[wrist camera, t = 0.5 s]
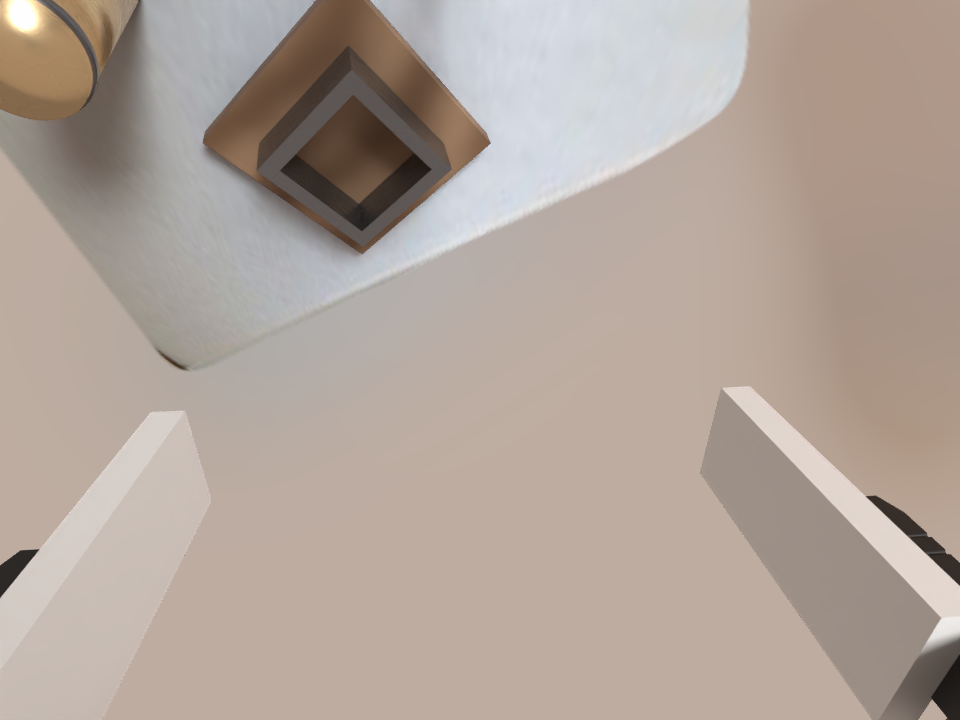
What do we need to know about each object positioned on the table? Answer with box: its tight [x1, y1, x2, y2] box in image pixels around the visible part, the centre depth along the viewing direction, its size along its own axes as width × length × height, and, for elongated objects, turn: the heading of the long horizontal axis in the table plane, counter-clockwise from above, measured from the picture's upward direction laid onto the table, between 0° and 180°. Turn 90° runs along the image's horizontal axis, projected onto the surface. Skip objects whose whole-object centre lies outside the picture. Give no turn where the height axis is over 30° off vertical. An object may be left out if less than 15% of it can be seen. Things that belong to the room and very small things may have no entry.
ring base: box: [203, 0, 491, 254], centre depth 39 cm, size 14×14×2 cm
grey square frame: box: [256, 45, 452, 246], centre depth 37 cm, size 9×9×4 cm
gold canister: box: [0, 0, 139, 120], centre depth 25 cm, size 5×5×12 cm
